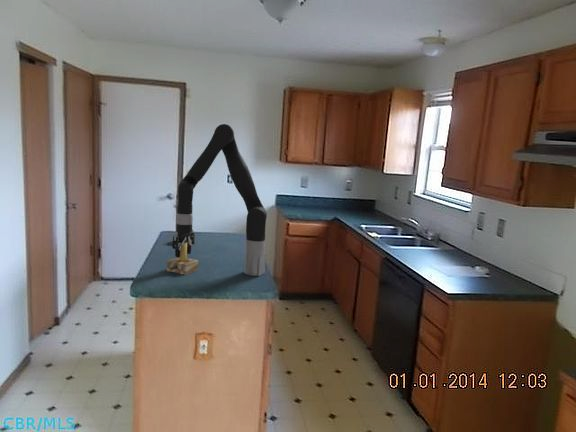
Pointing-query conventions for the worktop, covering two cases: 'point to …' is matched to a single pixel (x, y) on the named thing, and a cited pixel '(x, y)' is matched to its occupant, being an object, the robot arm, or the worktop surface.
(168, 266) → the socket mount
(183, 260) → the peg
